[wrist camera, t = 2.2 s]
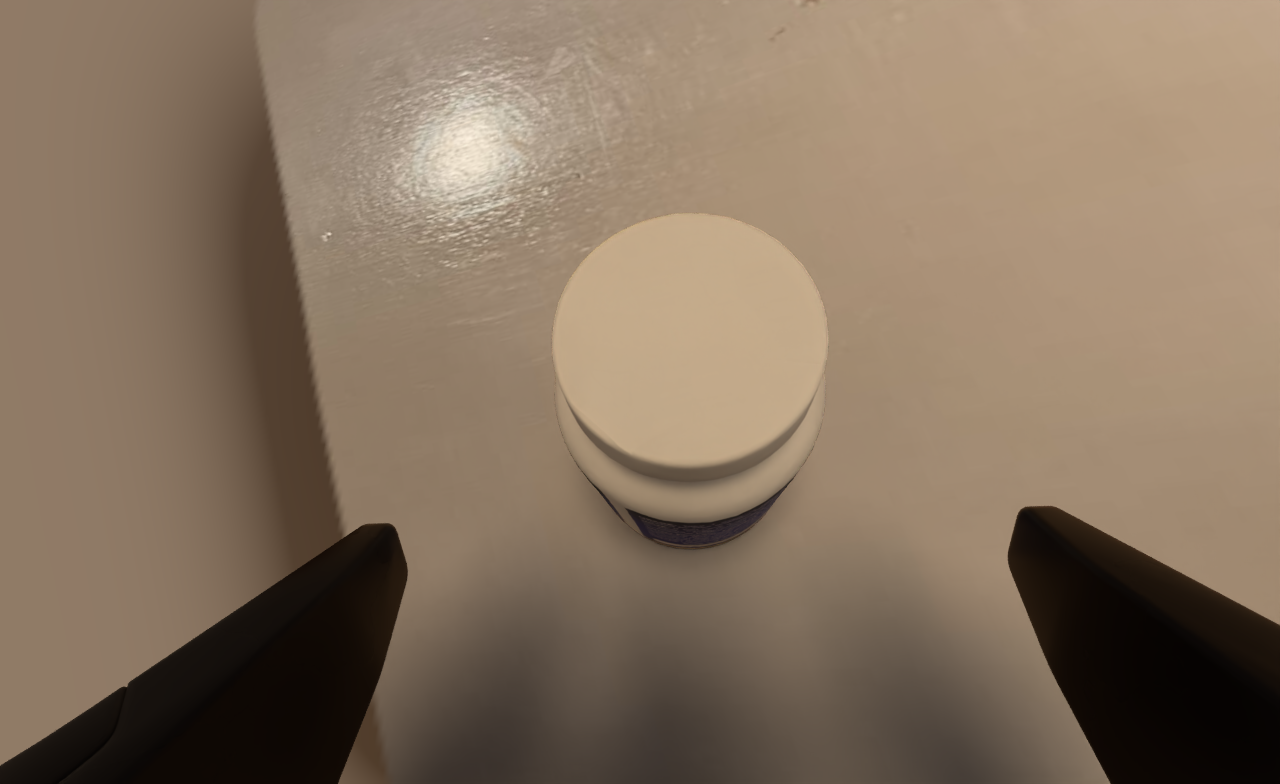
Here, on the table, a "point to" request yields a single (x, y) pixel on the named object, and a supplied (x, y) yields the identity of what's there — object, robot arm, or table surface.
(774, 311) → the pill bottle
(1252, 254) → the table surface
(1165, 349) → the table surface
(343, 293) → the table surface
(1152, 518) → the table surface
